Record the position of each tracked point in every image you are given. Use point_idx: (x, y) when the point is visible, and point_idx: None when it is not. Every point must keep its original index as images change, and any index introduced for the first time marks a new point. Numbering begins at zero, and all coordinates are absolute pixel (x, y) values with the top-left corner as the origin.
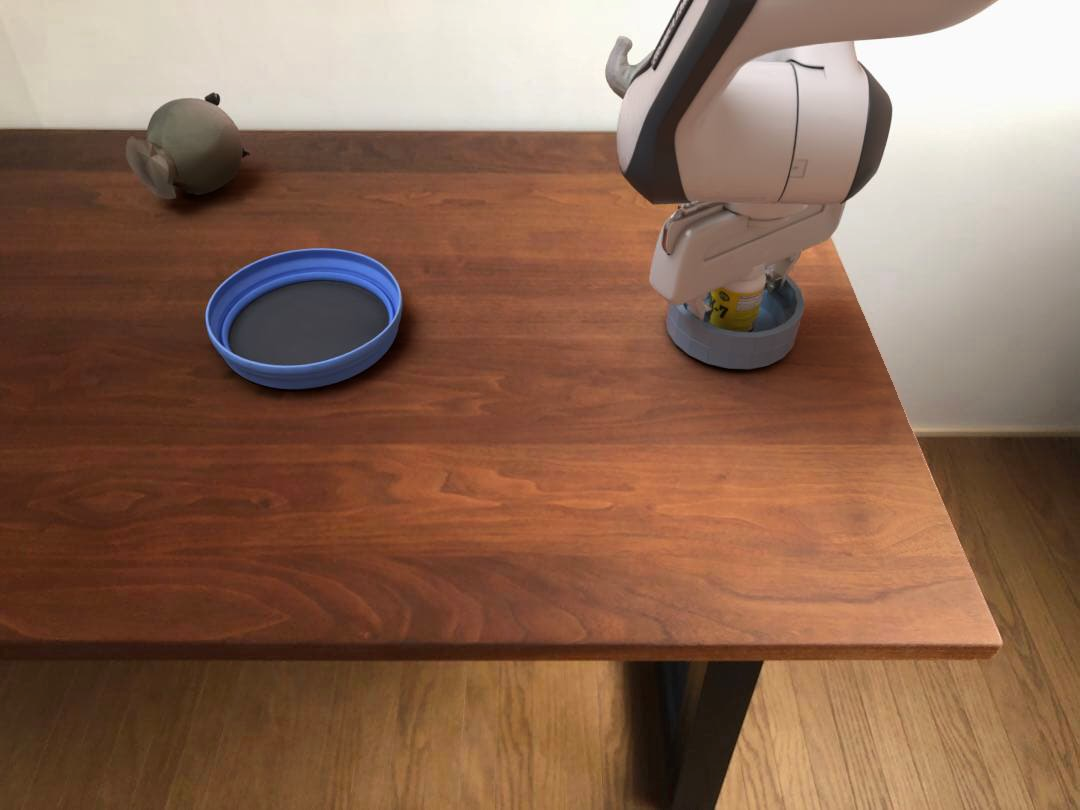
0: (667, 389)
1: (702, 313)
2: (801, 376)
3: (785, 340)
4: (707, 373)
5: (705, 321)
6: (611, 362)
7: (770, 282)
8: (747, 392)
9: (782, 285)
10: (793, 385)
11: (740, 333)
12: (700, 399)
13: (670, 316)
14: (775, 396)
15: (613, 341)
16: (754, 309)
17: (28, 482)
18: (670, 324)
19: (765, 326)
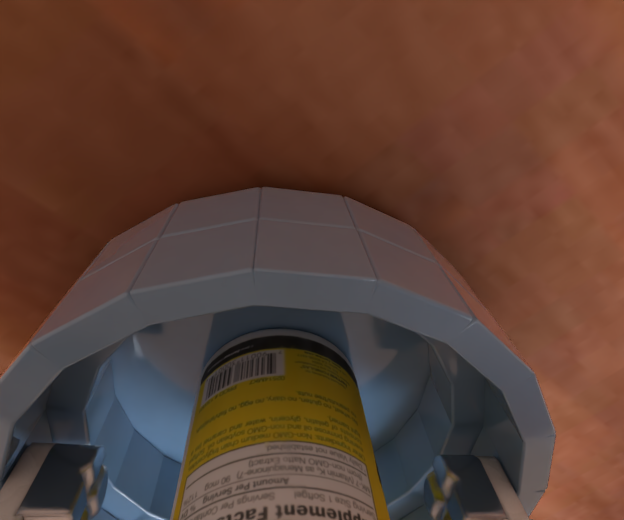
0: (613, 314)
1: (520, 516)
2: (261, 74)
3: (281, 229)
4: (484, 293)
5: (471, 465)
6: (590, 438)
7: (85, 499)
8: (485, 158)
9: (31, 459)
10: (332, 62)
11: (497, 372)
12: (604, 233)
13: None
14: (438, 71)
15: None
16: (285, 429)
17: None
18: None
19: (177, 328)
